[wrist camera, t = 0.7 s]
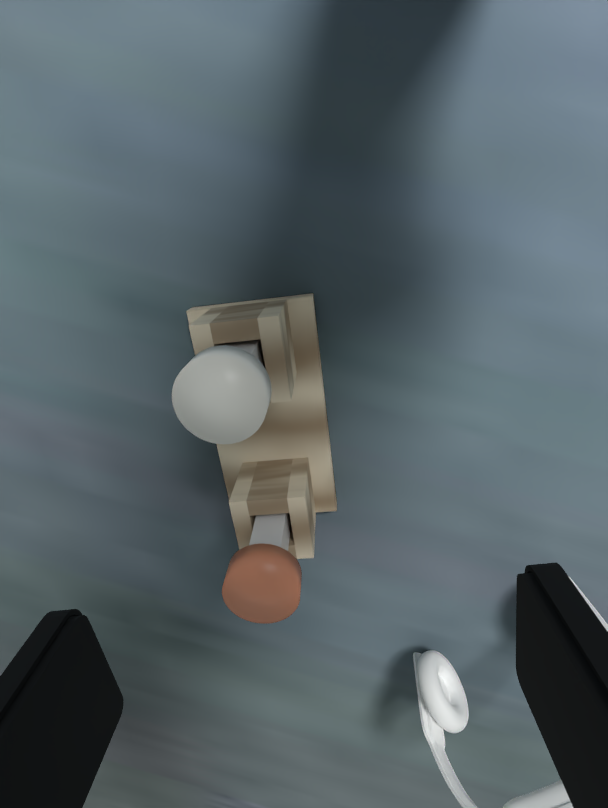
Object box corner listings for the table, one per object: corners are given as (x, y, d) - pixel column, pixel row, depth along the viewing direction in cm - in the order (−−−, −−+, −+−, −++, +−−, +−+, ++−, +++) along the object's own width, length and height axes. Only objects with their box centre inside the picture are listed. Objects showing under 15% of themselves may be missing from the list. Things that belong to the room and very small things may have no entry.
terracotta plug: (238, 495, 36) (214, 567, 28) (301, 490, 35) (294, 562, 28) (249, 545, 38) (230, 625, 30) (309, 541, 37) (304, 621, 30)
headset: (553, 545, 44) (688, 743, 27) (591, 586, 45) (739, 795, 29) (395, 638, 50) (427, 844, 33) (433, 671, 52) (482, 882, 35)
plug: (201, 325, 30) (161, 361, 23) (275, 317, 30) (258, 350, 23) (216, 395, 32) (184, 448, 25) (286, 388, 32) (273, 440, 25)
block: (191, 307, 36) (159, 329, 29) (313, 293, 35) (309, 312, 28) (236, 508, 44) (218, 563, 37) (336, 501, 43) (338, 556, 36)
